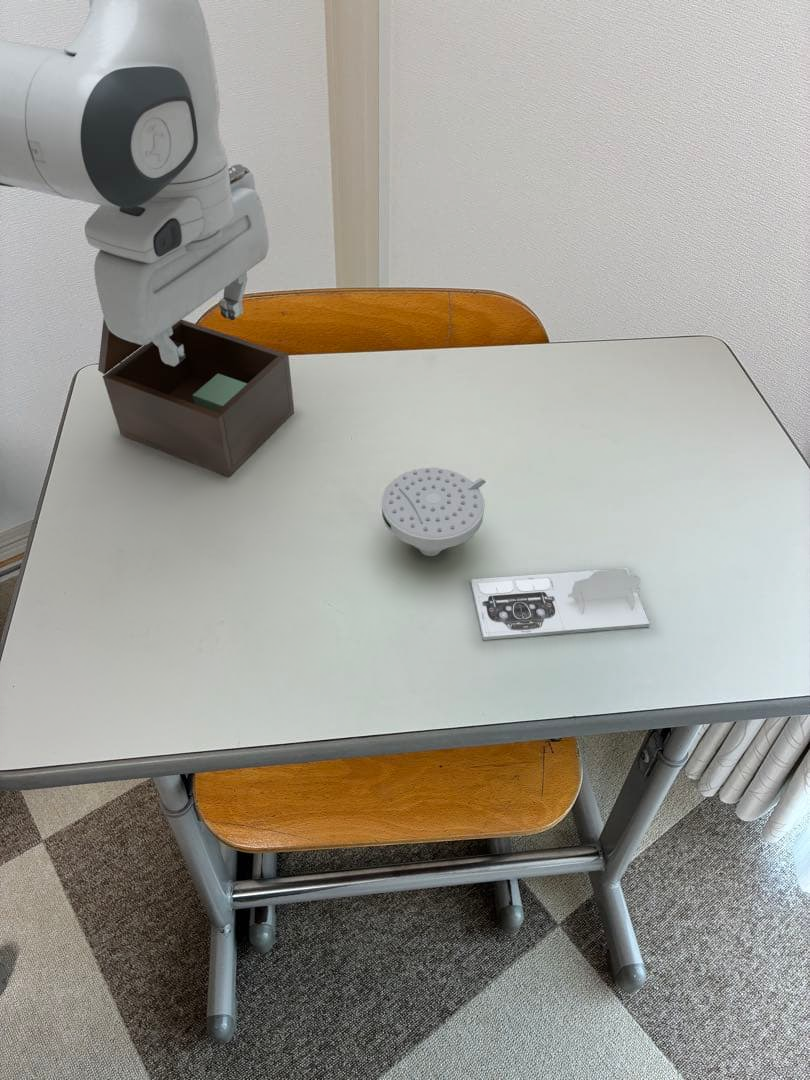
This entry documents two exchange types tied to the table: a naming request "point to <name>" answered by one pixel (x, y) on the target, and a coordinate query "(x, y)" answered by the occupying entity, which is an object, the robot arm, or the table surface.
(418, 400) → the table surface
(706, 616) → the table surface
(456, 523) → the showerhead
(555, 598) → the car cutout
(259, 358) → the chest
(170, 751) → the table surface
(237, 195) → the robot arm
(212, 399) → the soap block
